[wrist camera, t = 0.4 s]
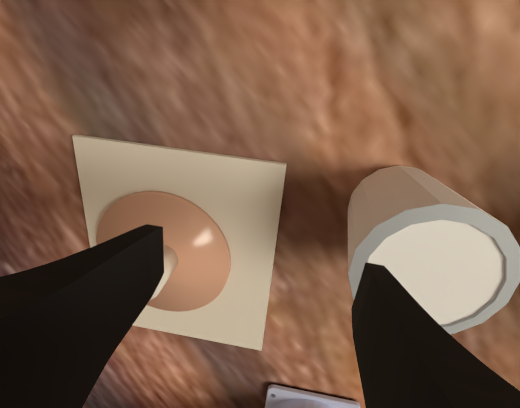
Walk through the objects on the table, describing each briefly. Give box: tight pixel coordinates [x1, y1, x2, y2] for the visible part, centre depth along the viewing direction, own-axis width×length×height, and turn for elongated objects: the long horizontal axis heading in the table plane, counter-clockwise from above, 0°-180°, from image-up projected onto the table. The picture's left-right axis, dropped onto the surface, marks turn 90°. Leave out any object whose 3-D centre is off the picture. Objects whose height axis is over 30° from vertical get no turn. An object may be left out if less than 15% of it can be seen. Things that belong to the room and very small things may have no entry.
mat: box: [72, 134, 287, 350], centre depth 23 cm, size 16×14×1 cm
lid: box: [96, 191, 231, 312], centre depth 22 cm, size 10×10×4 cm
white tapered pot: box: [348, 165, 520, 334], centre depth 17 cm, size 7×7×7 cm
